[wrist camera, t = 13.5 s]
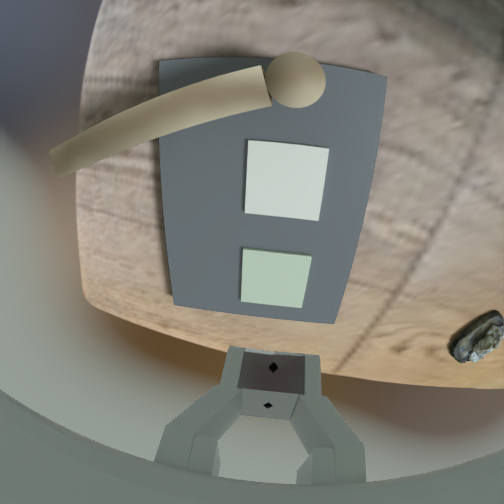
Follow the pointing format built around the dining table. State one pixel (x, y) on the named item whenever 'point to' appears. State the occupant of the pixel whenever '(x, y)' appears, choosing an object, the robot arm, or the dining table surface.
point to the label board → (269, 195)
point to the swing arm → (195, 108)
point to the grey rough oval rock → (479, 338)
